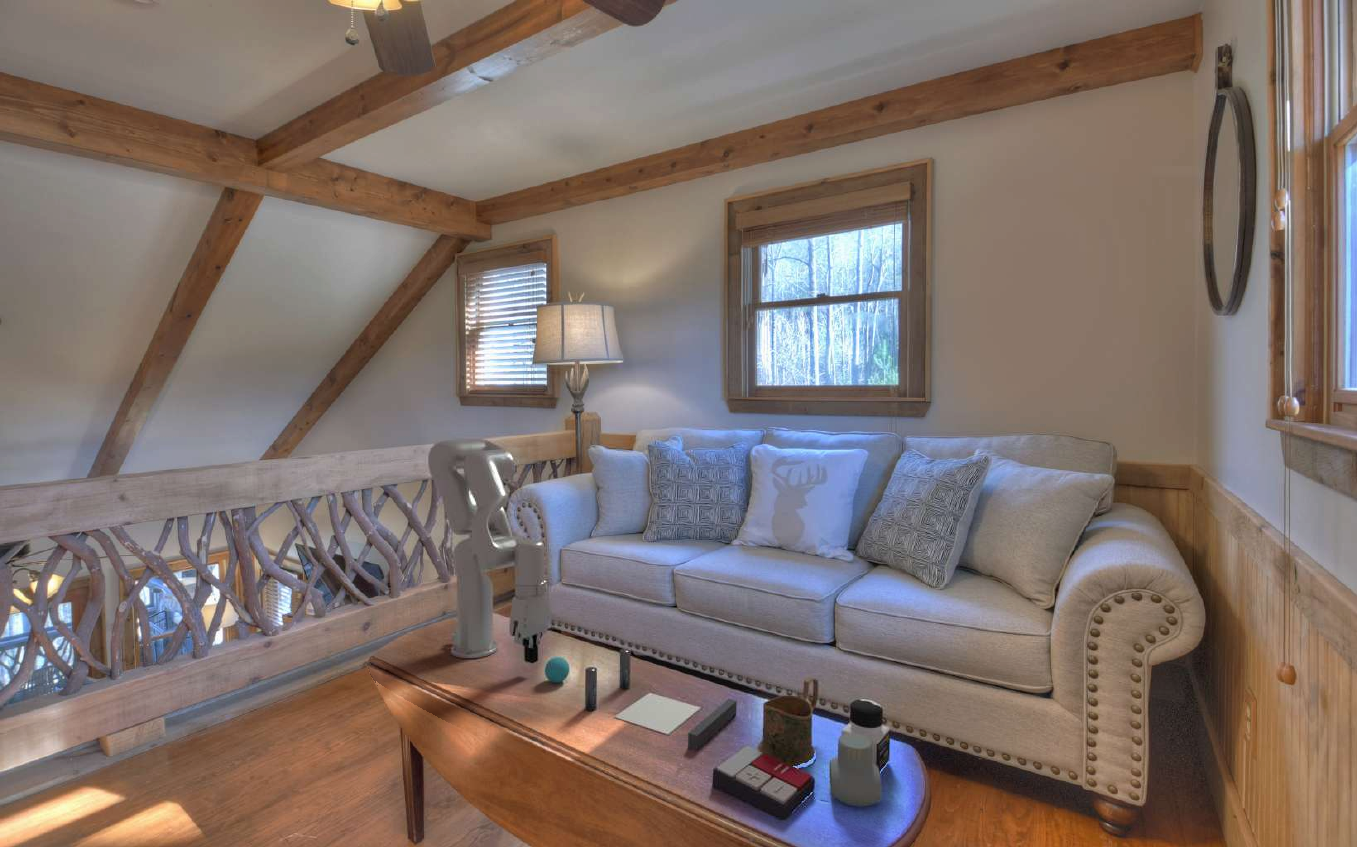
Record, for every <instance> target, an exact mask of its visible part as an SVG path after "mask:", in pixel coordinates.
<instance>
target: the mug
mask: <svg viewBox="0 0 1357 847" xmlns="http://www.w3.org/2000/svg"><path fill="white" fill-rule="evenodd" d="M810 683H813V684H812V686H813V687H812V695H811V701H810V702H809V701H808V700H807V698H808V695H809V691H810V690H809V689H810V688H809V687H810ZM818 697H819V681H818V679H817V678H814V677H809V678H808V677H807V678H806V679H804V681H803V691H802V694H801V695H800V696H796V695H790V694H789V695H788V694H787V695H785V694H784V695H779V696H777V697H773V698H772V699H769V700H766V701H765V702H763V703H762V707H763V708H762V711H763V712H762V740H761V741H760V742H759V743H758V745H759V746H758V745H757V751H758V750H759V752H761V753H763V754H768V755H770V756H772V757H774V758H776V759H778V760H780V761H783V762H785V763H787V764H789V765H791V766H798V765H800V764H802V763H807V762H808V761H809V760H811V759H812V758H813V757H814V753H815V751H816V750H815V751H814V749H815V747H814V746H813V745H812V743H813V738H812V737H813V733H812V728H813V726H812V725H813V711H814V710H815V708H816V707H817V703H818V699H819V698H818ZM813 747H814V748H813Z"/></svg>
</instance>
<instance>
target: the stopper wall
mask: <svg viewBox="0 0 1357 847" xmlns="http://www.w3.org/2000/svg"><path fill="white" fill-rule="evenodd" d="M737 702H738V701H737V700H734V699H730V698H728V699H726V700H725V701H724V702H723V703H722V704H720V705H719V706H718V707H717V708H716V709H715V710H713V711H712V712H711V713H709V715H707V717H705V718H704V719H703V720H701V722H700V723H698V724H697V725H696V726H695V727H693V728H692V729H691V730H690V731H689V732H687V733H688V734H687V736H688V737H687V738H688V739H687V748H688V749H690V750H694V751H698V750H699V749H700V748H701V747H703V745H704V744H706V742H708V741H709V740H710V739H711V738H712V737H713V736H714V735H716V734H717V733H718V732H719V731H720V730H721V729H722V728H723V727H724V726H725V725H726V724H728V722H729V721H731V720H732V719H733V718H734V717H735V716H736V715H737ZM734 715H735V716H734ZM733 716H734V717H733ZM732 717H733V718H732ZM731 718H732V719H731ZM730 719H731V720H730ZM728 720H729V721H728ZM723 725H724V726H723ZM722 726H723V727H722ZM721 727H722V728H721ZM719 729H720V730H719ZM718 730H719V731H718Z"/></svg>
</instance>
